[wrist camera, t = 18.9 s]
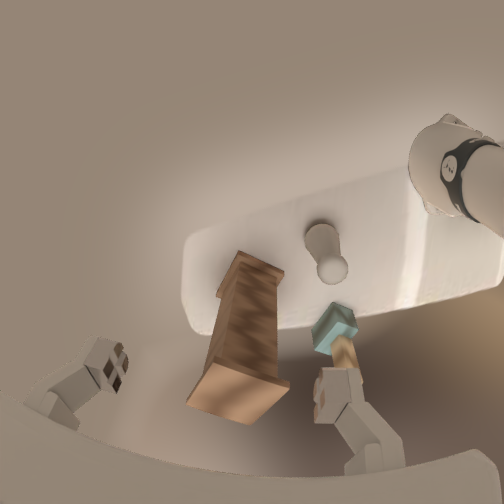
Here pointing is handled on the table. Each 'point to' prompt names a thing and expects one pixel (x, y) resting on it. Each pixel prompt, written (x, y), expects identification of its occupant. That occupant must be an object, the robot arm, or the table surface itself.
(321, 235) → the salt shaker
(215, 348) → the pedestal
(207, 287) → the table surface
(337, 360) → the mallet
